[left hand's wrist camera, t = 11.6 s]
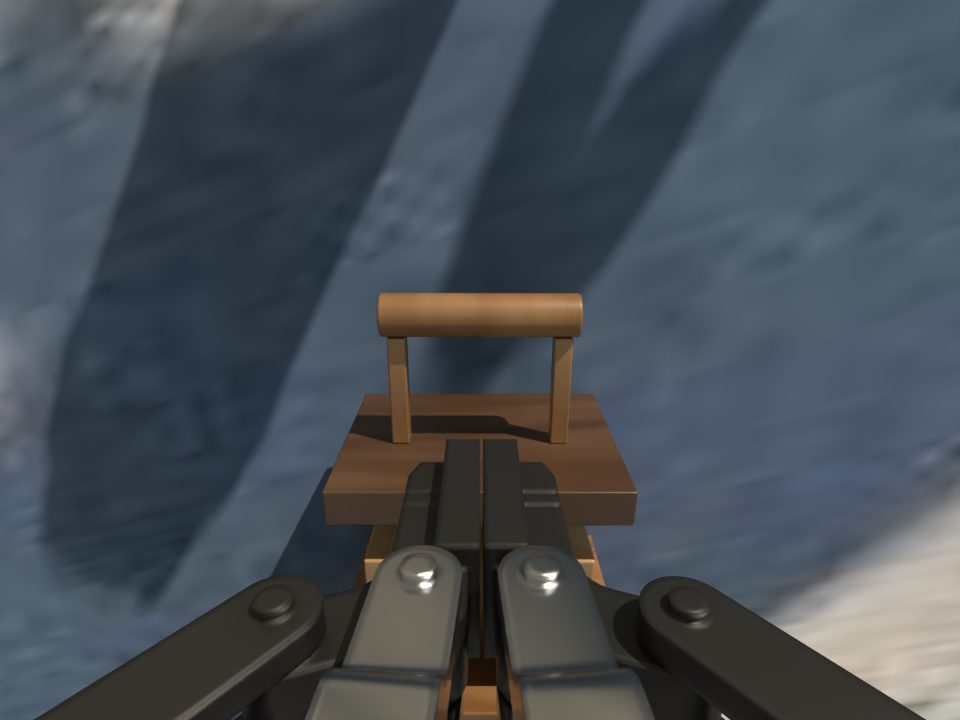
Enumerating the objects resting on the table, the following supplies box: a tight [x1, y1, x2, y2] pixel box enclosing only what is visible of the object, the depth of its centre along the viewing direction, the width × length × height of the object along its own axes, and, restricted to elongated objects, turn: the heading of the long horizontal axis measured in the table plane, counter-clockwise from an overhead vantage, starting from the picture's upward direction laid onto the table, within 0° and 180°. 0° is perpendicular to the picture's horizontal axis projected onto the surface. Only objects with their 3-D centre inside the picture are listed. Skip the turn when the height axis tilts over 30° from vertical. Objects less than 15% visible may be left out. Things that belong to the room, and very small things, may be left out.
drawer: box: [322, 293, 638, 686], centre depth 23 cm, size 26×9×7 cm, turn 0°
